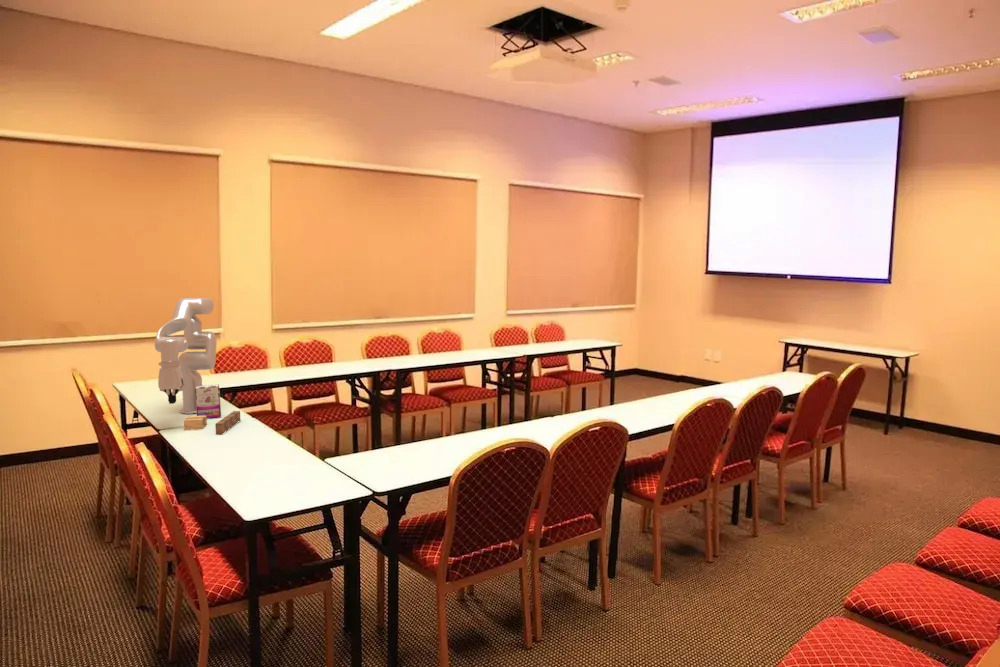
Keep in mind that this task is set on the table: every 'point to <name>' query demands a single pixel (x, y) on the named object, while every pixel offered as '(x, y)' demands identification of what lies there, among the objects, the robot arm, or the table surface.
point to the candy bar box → (208, 401)
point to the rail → (227, 422)
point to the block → (195, 422)
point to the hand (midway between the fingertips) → (172, 403)
